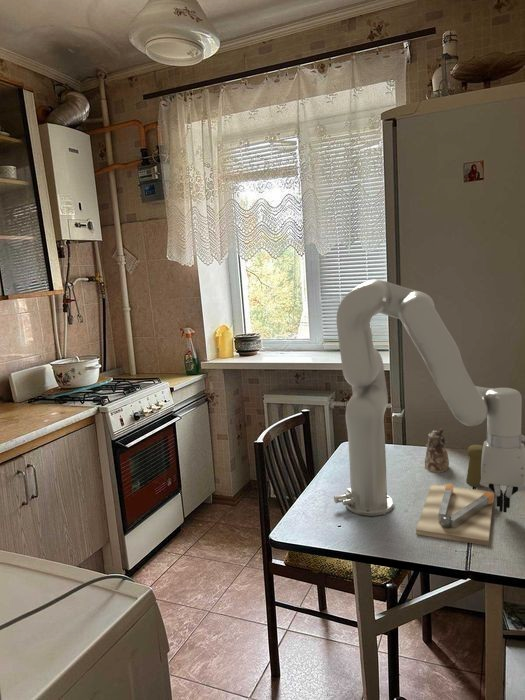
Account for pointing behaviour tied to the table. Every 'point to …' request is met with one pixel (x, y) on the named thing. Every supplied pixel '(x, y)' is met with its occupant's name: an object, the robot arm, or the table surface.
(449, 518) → the tongs arm
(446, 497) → the arm
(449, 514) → the board
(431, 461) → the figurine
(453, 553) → the table surface
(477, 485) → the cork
